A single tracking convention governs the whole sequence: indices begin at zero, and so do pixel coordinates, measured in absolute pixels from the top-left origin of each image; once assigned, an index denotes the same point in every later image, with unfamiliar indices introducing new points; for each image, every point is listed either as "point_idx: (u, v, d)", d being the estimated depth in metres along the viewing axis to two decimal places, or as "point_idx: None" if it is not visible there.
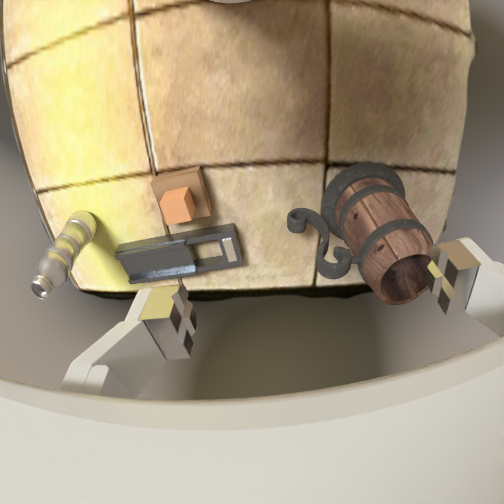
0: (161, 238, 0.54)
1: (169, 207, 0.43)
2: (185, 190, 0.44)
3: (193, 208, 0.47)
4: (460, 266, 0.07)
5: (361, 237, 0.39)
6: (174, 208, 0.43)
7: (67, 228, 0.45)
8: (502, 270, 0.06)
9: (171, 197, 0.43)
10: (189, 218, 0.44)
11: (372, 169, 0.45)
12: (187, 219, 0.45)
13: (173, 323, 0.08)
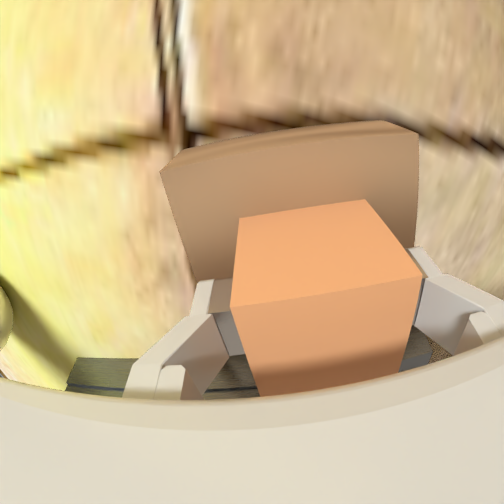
0: None
1: (304, 332, 0.06)
2: (373, 219, 0.08)
3: None
4: None
5: None
6: (336, 335, 0.06)
7: None
8: (452, 284, 0.06)
9: (317, 264, 0.06)
10: None
11: None
12: None
13: None
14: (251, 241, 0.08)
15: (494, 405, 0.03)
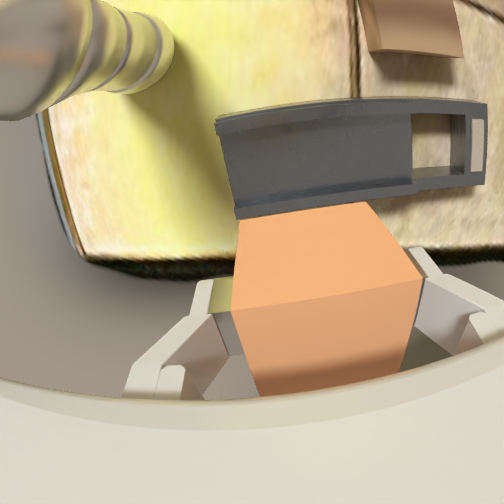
0: (342, 98, 0.20)
1: (304, 335, 0.06)
2: (373, 221, 0.08)
3: None
4: None
5: None
6: (336, 338, 0.06)
7: None
8: (452, 284, 0.06)
9: (317, 267, 0.06)
10: None
11: None
12: None
13: None
14: (251, 244, 0.08)
15: (494, 405, 0.03)
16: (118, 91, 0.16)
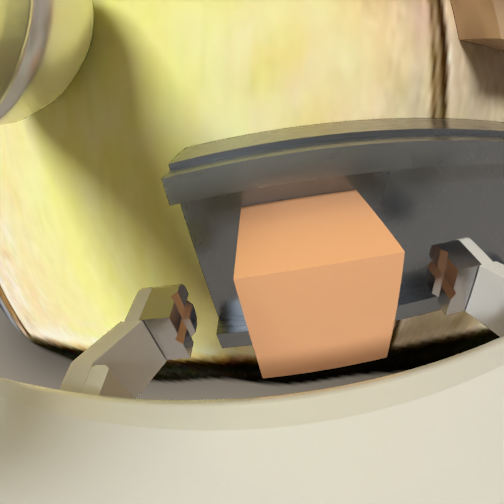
0: (423, 120, 0.10)
1: (299, 304, 0.07)
2: (362, 206, 0.08)
3: None
4: (460, 266, 0.07)
5: None
6: (328, 307, 0.07)
7: None
8: (502, 270, 0.06)
9: (310, 243, 0.07)
10: (383, 350, 0.08)
11: None
12: (372, 354, 0.08)
13: (173, 323, 0.08)
14: (252, 226, 0.09)
15: (494, 405, 0.03)
16: None
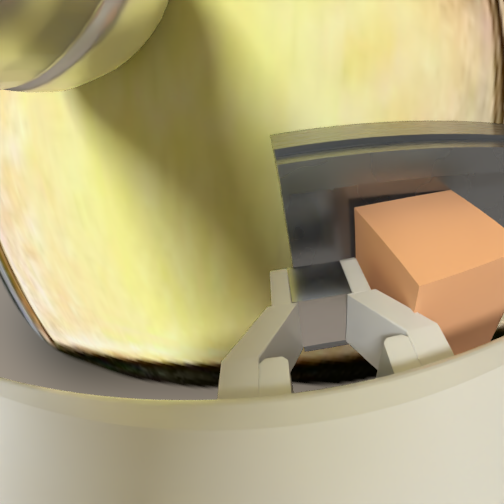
0: (490, 125, 0.09)
1: (456, 304, 0.06)
2: (469, 206, 0.07)
3: None
4: (320, 294, 0.07)
5: None
6: (473, 303, 0.06)
7: None
8: (377, 301, 0.06)
9: (458, 243, 0.06)
10: (488, 338, 0.07)
11: None
12: (481, 343, 0.07)
13: (329, 303, 0.07)
14: (387, 227, 0.07)
15: (494, 405, 0.03)
16: (29, 87, 0.05)
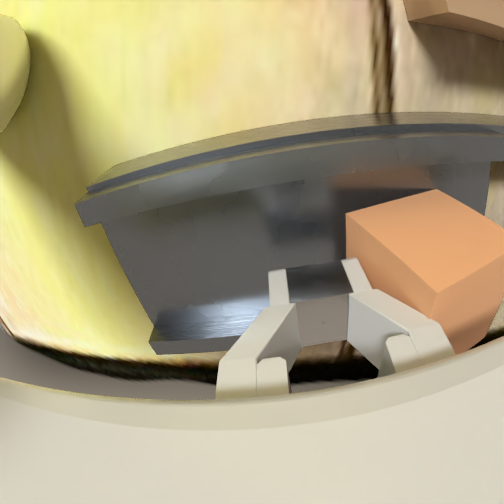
0: (358, 117, 0.09)
1: (464, 305, 0.06)
2: (459, 204, 0.08)
3: None
4: (322, 294, 0.07)
5: None
6: (477, 301, 0.06)
7: None
8: (378, 301, 0.06)
9: (460, 244, 0.06)
10: (485, 331, 0.07)
11: None
12: (478, 337, 0.07)
13: (327, 303, 0.07)
14: (386, 233, 0.07)
15: (494, 405, 0.03)
16: None
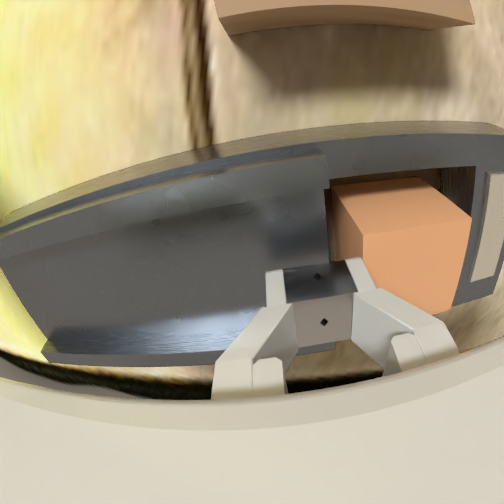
0: (166, 159, 0.10)
1: None
2: (364, 184, 0.11)
3: None
4: (326, 293, 0.07)
5: None
6: None
7: None
8: (383, 300, 0.06)
9: (422, 198, 0.09)
10: None
11: None
12: None
13: (324, 304, 0.07)
14: (406, 221, 0.08)
15: (494, 405, 0.03)
16: None
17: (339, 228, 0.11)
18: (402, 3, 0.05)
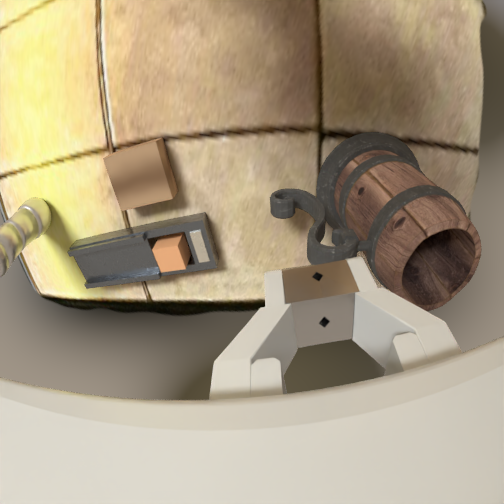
0: (120, 231, 0.43)
1: (181, 246, 0.42)
2: (167, 235, 0.44)
3: None
4: (328, 293, 0.07)
5: (370, 214, 0.27)
6: (183, 245, 0.43)
7: (15, 214, 0.34)
8: (384, 300, 0.06)
9: (174, 240, 0.42)
10: (189, 252, 0.45)
11: (380, 140, 0.34)
12: (189, 254, 0.45)
13: (323, 304, 0.07)
14: (162, 246, 0.41)
15: (494, 405, 0.03)
16: None
17: None
18: (153, 202, 0.38)
